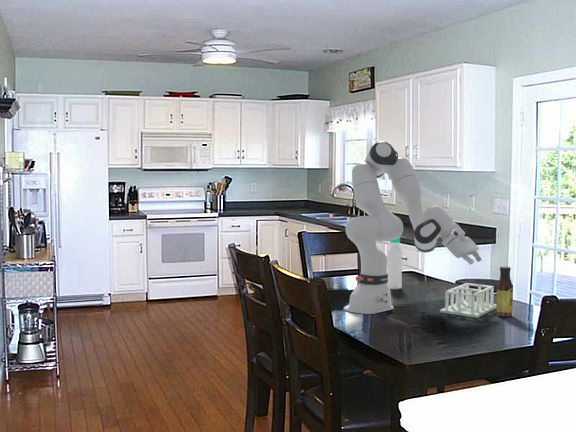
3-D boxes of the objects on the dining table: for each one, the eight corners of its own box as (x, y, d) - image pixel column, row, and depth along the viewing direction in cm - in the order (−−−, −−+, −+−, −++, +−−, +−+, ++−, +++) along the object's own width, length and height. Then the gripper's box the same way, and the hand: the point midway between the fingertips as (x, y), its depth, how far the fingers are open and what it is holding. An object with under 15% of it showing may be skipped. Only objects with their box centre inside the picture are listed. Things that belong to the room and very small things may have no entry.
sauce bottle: (513, 317, 258) (514, 268, 256) (496, 317, 259) (498, 267, 258) (511, 314, 265) (512, 265, 263) (495, 313, 266) (496, 265, 264)
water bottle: (401, 286, 321) (402, 236, 319) (402, 289, 314) (403, 238, 312) (386, 286, 322) (387, 236, 320) (387, 289, 315) (388, 238, 313)
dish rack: (477, 317, 258) (478, 295, 257) (439, 312, 267) (440, 290, 267) (499, 306, 278) (499, 286, 277) (463, 301, 287) (463, 281, 287)
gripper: (458, 239, 283) (479, 264, 278) (440, 243, 266) (462, 269, 261) (468, 230, 280) (490, 254, 275) (451, 233, 263) (473, 260, 259)
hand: (476, 262), depth 268 cm, fingers open, 8 cm apart
